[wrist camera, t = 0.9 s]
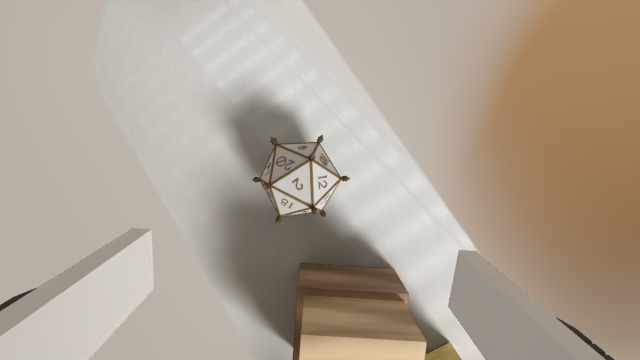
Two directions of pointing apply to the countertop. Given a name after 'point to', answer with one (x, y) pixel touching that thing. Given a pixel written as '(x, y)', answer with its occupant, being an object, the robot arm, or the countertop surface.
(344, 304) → the top block
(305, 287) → the bottom block
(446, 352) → the candy box
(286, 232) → the countertop surface
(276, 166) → the game die
